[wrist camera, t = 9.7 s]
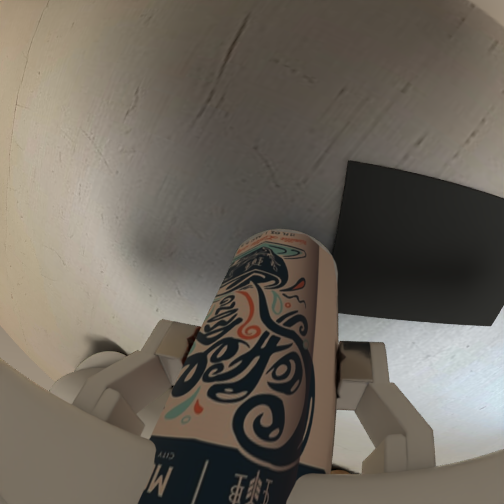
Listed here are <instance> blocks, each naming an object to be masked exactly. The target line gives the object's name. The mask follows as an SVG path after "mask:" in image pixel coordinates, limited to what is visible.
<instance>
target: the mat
mask: <svg viewBox="0 0 504 504" xmlns="http://www.w3.org/2000/svg"><path fill="white" fill-rule="evenodd" d="M332 257H333V259H334V261H335V263H336V267H337V271H338V281H337V289H338V313H342V314H351V315H359V316H368V317H377V318H387V319H397V320H407V321H418V322H430V323H443V324H458V325H476V326H491V325H492V324H493V322H494V321H495V319H496V317H497V316H498V314H499V312H500V311H501V309H502V307H503V306H504V199H503V198H500V197H497V196H494V195H491V194H488V193H485V192H482V191H479V190H476V189H472V188H469V187H465V186H462V185H458V184H455V183H451V182H448V181H444V180H440V179H436V178H432V177H428V176H424V175H420V174H415V173H411V172H406V171H402V170H397V169H392V168H387V167H382V166H377V165H372V164H366V163H360V162H354V161H348V166H347V173H346V180H345V187H344V193H343V199H342V205H341V211H340V217H339V222H338V228H337V233H336V239H335V244H334V249H333V254H332Z"/></svg>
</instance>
